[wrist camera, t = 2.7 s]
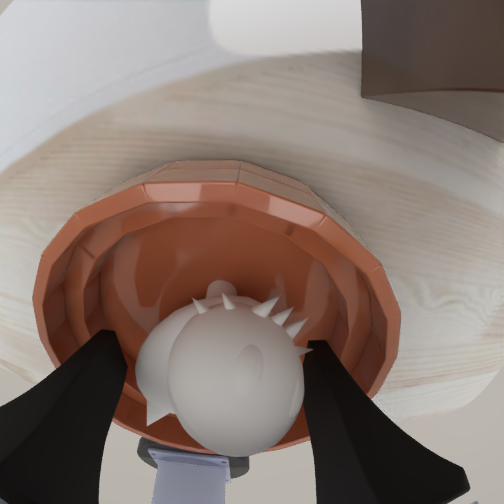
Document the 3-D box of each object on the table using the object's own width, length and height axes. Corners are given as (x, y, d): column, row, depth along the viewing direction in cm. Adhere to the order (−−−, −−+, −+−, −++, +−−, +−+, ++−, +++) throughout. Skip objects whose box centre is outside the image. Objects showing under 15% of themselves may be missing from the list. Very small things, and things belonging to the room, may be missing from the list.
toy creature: (324, 295, 11) (372, 437, 5) (200, 386, 13) (186, 495, 8) (237, 219, 9) (222, 369, 4) (124, 339, 12) (79, 452, 6)
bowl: (330, 395, 15) (342, 448, 12) (118, 386, 15) (101, 435, 11) (391, 170, 9) (452, 201, 6) (55, 169, 9) (-8, 197, 6)
